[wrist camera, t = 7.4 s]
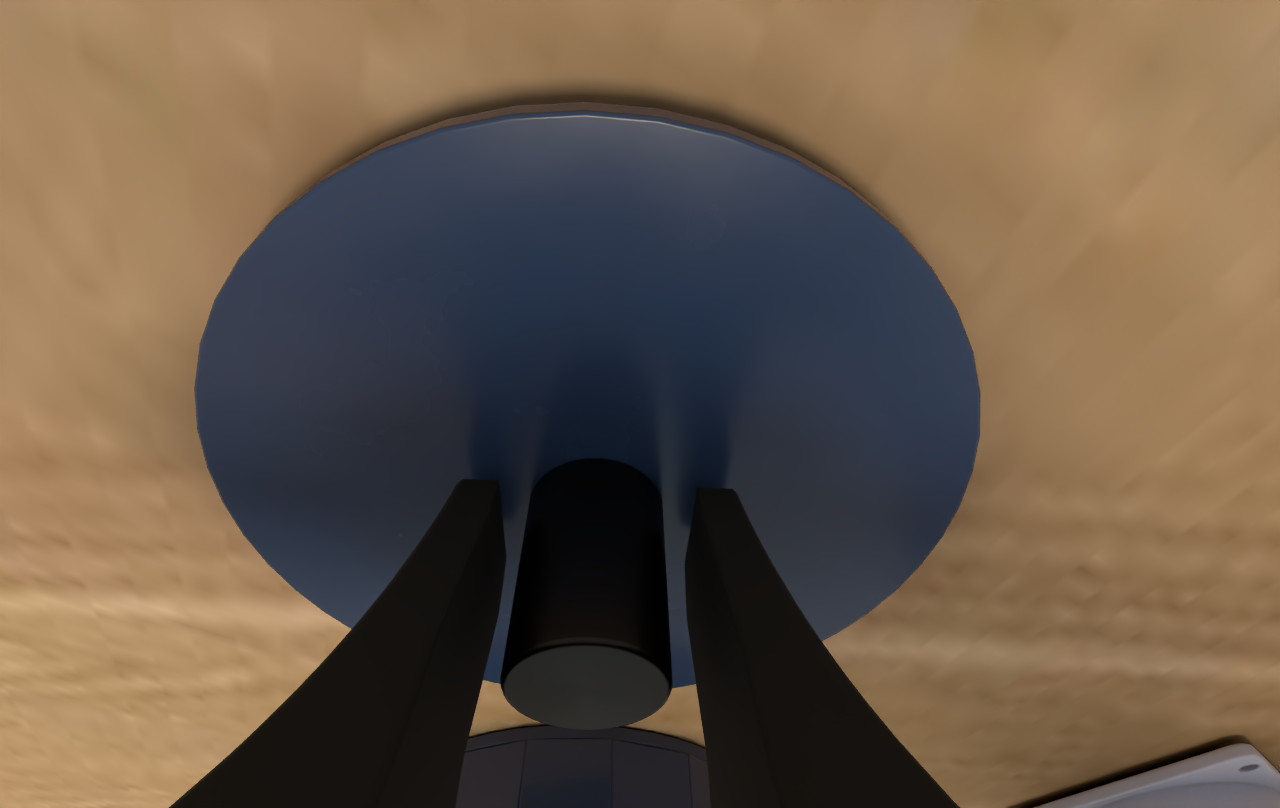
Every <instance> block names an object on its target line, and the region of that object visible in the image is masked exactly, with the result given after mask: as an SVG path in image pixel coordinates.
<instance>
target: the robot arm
mask: <svg viewBox="0 0 1280 808" xmlns="http://www.w3.org/2000/svg"><path fill="white" fill-rule="evenodd" d="M506 558H507V557H506V547H505V536H504V526H503V515H502V505H501V494H500V484H499V480H480V479H462V480H461V481H460V482H458V483H457V484H456V486H455V488H454V490H453V491H452V493H451V495H450V496H449V498H448V500H447V501H446V503H445V504H444V506H443V508H442V509H441V511H440V512H439V514H438V515H437V517H436V518H435V520H434V521H433V523H432V525H431V526H430V527H429V529H428V530H427V532H426V533H425V535H424V536H423V538H422V539H421V541H420V542H419V544H418V545H417V546H416V548H415V549H414V550H413V552H412V553H411V554H410V556H409V557H408V559H407V560H406V561H405V563H404V564H403V565H402V567H401V568H400V569H399V571H398V572H397V574H396V575H395V576H394V578H393V579H392V580H391V582H390V583H389V584H388V585H387V587H386V588H385V589H384V591H383V592H382V593H381V594H380V596H379V597H378V598H377V599H376V600H375V602H374V603H373V604H372V605H371V607H370V608H369V609H368V610H367V611H366V613H365V614H364V615H363V616H362V618H361V619H360V620H359V621H358V622H357V624H356V625H355V626H354V627H353V629H352V630H351V631H350V632H349V633H348V634H347V635H346V637H345V638H344V639H343V640H342V641H341V642H340V643H339V645H338V646H337V647H336V648H335V649H334V650H333V651H332V652H331V654H330V655H329V656H328V657H327V658H326V659H325V660H324V661H323V662H322V663H321V665H320V666H319V667H318V668H317V669H316V670H315V671H314V672H313V673H312V674H311V675H310V676H309V677H308V678H307V679H306V680H305V681H304V683H303V684H302V685H301V686H300V687H299V688H298V689H297V690H296V691H295V692H294V693H293V694H292V695H291V696H290V697H289V698H288V699H287V700H286V701H285V702H284V703H283V704H282V705H281V706H280V707H279V708H278V709H277V710H276V711H275V712H274V713H273V714H272V715H271V716H270V717H269V718H268V719H267V720H266V721H265V722H264V723H262V724H261V725H260V726H259V727H258V728H257V729H256V730H255V731H254V732H253V733H252V734H251V735H250V736H249V737H248V738H247V739H246V740H245V741H244V742H243V743H242V744H240V745H239V746H238V747H237V748H236V749H235V750H234V751H233V752H232V753H231V754H230V755H229V756H227V757H226V758H225V759H224V760H223V761H222V762H221V763H219V764H218V765H217V766H216V767H215V768H214V769H213V770H211V771H210V772H209V773H208V774H207V775H206V776H205V777H203V778H202V779H201V780H200V781H199V782H198V783H197V784H195V785H194V786H193V787H192V788H191V789H190V790H189V791H187V792H186V793H185V794H184V795H183V796H182V797H181V798H179V799H178V800H177V801H176V802H175V803H174V804H173V805H171V806H170V807H169V808H455V807H456V801H457V795H458V788H459V782H460V776H461V770H462V765H463V760H464V755H465V751H466V746H467V741H468V737H469V733H470V729H471V725H472V721H473V717H474V713H475V709H476V705H477V701H478V697H479V693H480V689H481V685H482V681H483V677H484V673H485V669H486V665H487V661H488V657H489V653H490V649H491V645H492V641H493V636H494V632H495V628H496V624H497V620H498V616H499V610H500V603H501V596H502V589H503V581H504V573H505V566H506ZM684 564H685V592H686V614H687V624H688V632H689V639H690V645H691V652H692V659H693V666H694V673H695V679H696V686H697V693H698V699H699V706H700V713H701V720H702V726H703V733H704V740H705V747H706V756H707V765H708V774H709V790H710V807H711V808H960V807H959V806H958V805H957V804H956V803H955V802H954V801H953V800H952V799H951V798H950V797H949V796H948V795H947V794H946V792H945V791H944V790H943V789H942V788H941V787H940V786H939V785H938V784H937V782H936V781H935V780H934V779H933V778H932V777H931V776H930V775H929V774H928V773H927V771H926V770H925V769H924V768H923V767H922V766H921V765H920V764H919V763H918V761H917V760H916V759H915V758H914V757H913V756H912V755H911V754H910V753H909V752H908V750H907V749H906V748H905V747H904V746H903V745H902V744H901V743H900V742H899V740H898V739H897V738H896V737H895V736H894V735H893V733H892V732H891V731H890V730H889V729H888V727H887V726H886V725H885V724H884V723H883V721H882V720H881V719H880V718H879V716H878V715H877V714H876V713H875V712H874V710H873V709H872V708H871V707H870V706H869V704H868V703H867V702H866V701H865V699H864V698H863V697H862V695H861V694H860V693H859V692H858V690H857V689H856V688H855V686H854V685H853V684H852V682H851V681H850V680H849V679H848V677H847V676H846V675H845V673H844V672H843V671H842V669H841V668H840V667H839V665H838V664H837V662H836V661H835V660H834V658H833V657H832V655H831V654H830V653H829V651H828V650H827V648H826V647H825V646H824V644H823V643H822V641H821V640H820V638H819V637H818V635H817V634H816V632H815V631H814V629H813V628H812V626H811V625H810V623H809V622H808V620H807V619H806V617H805V616H804V614H803V613H802V611H801V610H800V608H799V606H798V605H797V603H796V602H795V600H794V598H793V597H792V595H791V593H790V592H789V590H788V589H787V587H786V585H785V584H784V582H783V580H782V579H781V577H780V575H779V574H778V572H777V570H776V569H775V567H774V565H773V563H772V561H771V560H770V558H769V556H768V554H767V553H766V551H765V549H764V547H763V545H762V543H761V541H760V539H759V538H758V536H757V534H756V532H755V530H754V528H753V526H752V524H751V522H750V520H749V518H748V516H747V514H746V512H745V510H744V507H743V505H742V503H741V501H740V499H739V496H738V494H737V493H736V492H735V491H734V490H733V489H726V488H698V487H697V492H696V498H695V504H694V510H693V516H692V522H691V528H690V534H689V540H688V545H687V551H686V557H685V563H684ZM1033 808H1280V773H1279V772H1278V771H1277V770H1276V769H1275V768H1274V767H1273V766H1272V765H1271V764H1270V763H1269V762H1268V761H1267V760H1266V759H1265V758H1264V757H1263V756H1262V755H1261V754H1260V753H1259V752H1258V751H1257V750H1256V749H1255V748H1254V747H1253V746H1252V745H1249V744H1245V743H1240V744H1233V745H1229V746H1226V747H1223V748H1220V749H1217V750H1213V751H1210V752H1207V753H1204V754H1201V755H1198V756H1195V757H1191V758H1188V759H1185V760H1182V761H1179V762H1176V763H1172V764H1169V765H1166V766H1163V767H1160V768H1157V769H1153V770H1150V771H1147V772H1144V773H1141V774H1138V775H1135V776H1131V777H1128V778H1125V779H1122V780H1119V781H1116V782H1112V783H1109V784H1106V785H1103V786H1100V787H1097V788H1093V789H1090V790H1087V791H1084V792H1081V793H1078V794H1075V795H1071V796H1068V797H1065V798H1062V799H1059V800H1056V801H1052V802H1049V803H1046V804H1043V805H1040V806H1037V807H1033Z"/></svg>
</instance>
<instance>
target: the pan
mask: <svg viewBox="0 0 1280 808" xmlns="http://www.w3.org/2000/svg"><path fill="white" fill-rule="evenodd" d="M455 808H711V807H710V790H709V774H708V765H707V756H706V749H704V748H702V747H700V746H697V745H695V744H692V743H689V742H686V741H682V740H679V739H676V738H673V737H669V736H664V735H660V734H656V733H652V732H646V731H640V730H633V729H627V728H618V727H615V728H608V729H596V730H579V729H568V728H562V727H556V726H537V727H527V728H517V729H511V730H505V731H500V732H494V733H489V734H485V735H481V736H477V737H473V738H469V739H468V741H467V746H466V751H465V755H464V760H463V765H462V770H461V776H460V782H459V788H458V795H457V801H456V807H455Z"/></svg>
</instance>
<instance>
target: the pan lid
mask: <svg viewBox="0 0 1280 808" xmlns="http://www.w3.org/2000/svg"><path fill="white" fill-rule="evenodd" d="M195 402H196V416H197V429H198V433H199V437H200V441H201V445H202V449H203V453H204V456H205V460H206V464H207V468H208V470H209V472H210V474H211V477H212V479H213V481H214V483H215V486H216V488H217V490H218V492H219V495H220V497H221V499H222V501H223V503H224V505H225V507H226V508H227V510H228V511H229V513H230V514H231V516H232V518H233V519H234V521H235V522H236V524H237V525H238V527H239V529H240V530H241V532H242V533H243V535H244V536H245V537H246V538H247V540H248V541H249V542H250V543H251V544H252V546H253V547H254V548H255V549H256V550H257V552H258V553H259V554H260V555H261V556H262V558H263V559H264V560H265V561H266V562H267V564H268V565H269V566H271V567H272V568H273V569H274V570H275V571H276V572H277V573H278V574H279V575H280V576H281V577H282V578H283V579H284V580H285V581H286V582H288V583H289V584H290V585H291V586H292V587H293V588H294V589H295V590H296V591H297V592H299V593H300V594H301V595H303V596H304V597H305V598H307V599H308V600H309V601H311V602H312V603H313V604H315V605H316V606H317V607H319V608H320V609H321V610H322V611H324V612H325V613H327V614H328V615H330V616H332V617H333V618H335V619H336V620H338V621H340V622H341V623H343V624H344V625H346V626H348V627H349V628H351V629H353V627H354V626H355V625H356V624H357V622H358V621H359V620H360V619H361V618H362V616H363V615H364V614H365V613H366V611H367V610H368V609H369V608H370V607H371V605H372V604H373V603H374V602H375V600H376V599H377V598H378V597H379V596H380V594H381V593H382V592H383V591H384V589H385V588H386V587H387V585H388V584H389V583H390V582H391V580H392V579H393V578H394V576H395V575H396V574H397V572H398V571H399V569H400V568H401V567H402V565H403V564H404V563H405V561H406V560H407V559H408V557H409V556H410V554H411V553H412V552H413V550H414V549H415V548H416V546H417V545H418V544H419V542H420V541H421V539H422V538H423V536H424V535H425V533H426V532H427V530H428V529H429V527H430V526H431V525H432V523H433V521H434V520H435V518H436V517H437V515H438V514H439V512H440V511H441V509H442V508H443V506H444V504H445V503H446V501H447V500H448V498H449V496H450V495H451V493H452V491H453V490H454V488H455V486H456V484H457V483H458V482H460V481H461V480H462V479H480V480H499V484H500V494H501V505H502V515H503V526H504V536H505V547H506V557H507V558H506V566H505V573H504V581H503V589H502V596H501V603H500V610H499V616H498V620H497V624H496V628H495V632H494V636H493V641H492V645H491V649H490V653H489V657H488V661H487V665H486V669H485V673H484V677H483V680H486V681H490V682H494V683H500V684H501V688H502V691H503V694H504V696H505V698H506V700H507V701H508V702H509V703H510V705H511V706H512V707H514V708H515V709H516V710H517V711H519V712H520V713H522V714H523V715H525V716H527V717H529V718H531V719H534V720H536V721H539V722H541V723H545V724H548V725H552V726H556V727H562V728H568V729H579V730H596V729H608V728H615V727H620V726H624V725H628V724H631V723H634V722H637V721H640V720H642V719H644V718H646V717H648V716H650V715H652V714H653V713H655V712H656V711H657V710H659V709H660V708H661V707H662V706H663V705H664V704H665V702H666V701H667V699H668V697H669V695H670V693H671V690H672V688H677V687H682V686H688V685H694V684H696V679H695V673H694V666H693V659H692V652H691V645H690V639H689V632H688V624H687V614H686V592H685V564H684V563H685V557H686V551H687V545H688V540H689V534H690V528H691V522H692V516H693V510H694V504H695V498H696V492H697V487H698V488H726V489H733V490H734V491H735V492H736V493H737V494H738V496H739V499H740V501H741V503H742V505H743V507H744V510H745V512H746V514H747V516H748V518H749V520H750V522H751V524H752V526H753V528H754V530H755V532H756V534H757V536H758V538H759V539H760V541H761V543H762V545H763V547H764V549H765V551H766V553H767V554H768V556H769V558H770V560H771V561H772V563H773V565H774V567H775V569H776V570H777V572H778V574H779V575H780V577H781V579H782V580H783V582H784V584H785V585H786V587H787V589H788V590H789V592H790V593H791V595H792V597H793V598H794V600H795V602H796V603H797V605H798V606H799V608H800V610H801V611H802V613H803V614H804V616H805V617H806V619H807V620H808V622H809V623H810V625H811V626H812V628H813V629H814V631H815V632H816V634H817V635H818V637H819V638H820V640H821V641H823V640H825V639H827V638H829V637H831V636H832V635H834V634H836V633H838V632H840V631H841V630H843V629H844V628H846V627H847V626H849V625H850V624H852V623H854V622H855V621H857V620H858V619H860V618H861V617H863V616H864V615H866V614H867V613H869V612H870V611H871V610H872V609H874V608H875V607H876V606H877V605H879V604H880V603H881V602H882V601H884V600H885V599H886V598H887V597H888V596H890V595H891V594H892V593H893V592H895V591H896V590H897V589H898V588H899V587H900V586H901V585H902V584H903V583H904V582H905V581H906V580H907V579H908V578H909V577H910V576H911V575H912V574H913V572H914V571H915V570H916V569H917V568H918V567H919V566H920V565H921V564H922V563H923V561H924V560H925V559H926V557H927V556H928V555H929V554H930V552H931V551H932V550H933V548H934V547H935V546H936V544H937V543H938V542H939V540H940V539H941V538H942V536H943V535H944V533H945V531H946V529H947V527H948V526H949V524H950V522H951V520H952V519H953V517H954V515H955V513H956V512H957V510H958V508H959V506H960V504H961V501H962V498H963V496H964V493H965V490H966V488H967V485H968V482H969V480H970V477H971V475H972V472H973V467H974V462H975V457H976V452H977V446H978V441H979V436H980V388H979V383H978V377H977V371H976V366H975V360H974V354H973V350H972V348H971V345H970V342H969V340H968V337H967V334H966V332H965V329H964V326H963V324H962V321H961V319H960V316H959V313H958V311H957V309H956V307H955V305H954V304H953V302H952V300H951V299H950V297H949V295H948V294H947V292H946V291H945V289H944V287H943V286H942V284H941V282H940V281H939V279H938V277H937V276H936V274H935V273H934V271H933V269H932V268H931V266H930V265H929V264H928V263H927V261H926V260H925V259H924V258H923V257H922V255H921V254H920V253H919V252H918V251H917V250H916V249H915V247H914V246H913V245H912V244H911V243H910V242H909V241H908V240H907V238H906V237H905V236H904V235H903V234H902V233H901V232H900V231H899V229H898V228H897V227H896V226H895V225H894V224H893V223H892V222H891V220H890V219H889V218H888V217H887V216H886V215H885V214H884V213H882V212H881V211H880V210H879V209H877V208H876V207H875V206H874V205H872V204H871V203H870V202H869V201H867V200H866V199H865V198H864V197H863V196H861V195H860V194H859V193H858V192H856V191H855V190H854V189H853V188H851V187H850V186H849V185H848V184H846V183H845V182H844V181H843V180H841V179H840V178H838V177H836V176H835V175H833V174H831V173H829V172H828V171H826V170H824V169H822V168H821V167H819V166H817V165H815V164H814V163H812V162H810V161H809V160H807V159H805V158H803V157H802V156H800V155H798V154H796V153H795V152H793V151H791V150H789V149H788V148H785V147H783V146H780V145H778V144H775V143H773V142H770V141H767V140H765V139H762V138H760V137H757V136H755V135H752V134H750V133H747V132H744V131H742V130H739V129H737V128H734V127H732V126H729V125H727V124H723V123H719V122H715V121H710V120H706V119H702V118H698V117H693V116H689V115H685V114H680V113H676V112H672V111H668V110H663V109H659V108H650V107H639V106H628V105H617V104H606V103H595V102H574V103H554V104H534V105H516V106H511V107H506V108H500V109H495V110H490V111H485V112H480V113H475V114H470V115H465V116H460V117H455V118H450V119H446V120H443V121H441V122H438V123H435V124H432V125H429V126H427V127H424V128H421V129H418V130H415V131H413V132H410V133H407V134H404V135H401V136H399V137H396V138H393V139H390V140H387V141H385V142H383V143H381V144H380V145H378V146H376V147H374V148H372V149H370V150H369V151H367V152H365V153H363V154H361V155H360V156H358V157H356V158H354V159H352V160H350V161H349V162H347V163H345V164H343V165H341V166H339V167H338V168H336V169H334V170H332V171H331V172H329V173H328V174H327V175H326V176H324V177H323V178H322V179H321V180H319V181H318V182H317V183H316V184H314V185H313V186H312V187H311V188H309V189H308V190H307V191H306V192H304V193H303V194H302V195H300V196H299V197H298V198H297V199H295V200H294V201H293V202H292V203H290V204H289V205H288V206H287V207H285V208H284V209H283V210H282V211H281V212H280V213H279V214H278V215H277V216H275V217H274V219H273V220H272V221H271V222H270V223H269V224H268V225H267V227H266V228H265V229H264V230H263V231H262V232H261V233H260V235H259V236H258V237H257V238H256V239H255V240H254V241H253V243H252V244H251V245H250V246H249V247H248V248H247V249H246V251H245V252H244V253H243V254H242V255H241V256H240V257H239V259H238V261H237V262H236V264H235V266H234V268H233V269H232V271H231V273H230V274H229V276H228V278H227V280H226V281H225V283H224V285H223V287H222V288H221V290H220V292H219V293H218V295H217V297H216V299H215V300H214V303H213V306H212V309H211V312H210V315H209V318H208V321H207V324H206V327H205V330H204V333H203V336H202V339H201V342H200V347H199V355H198V364H197V372H196V380H195Z"/></svg>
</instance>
